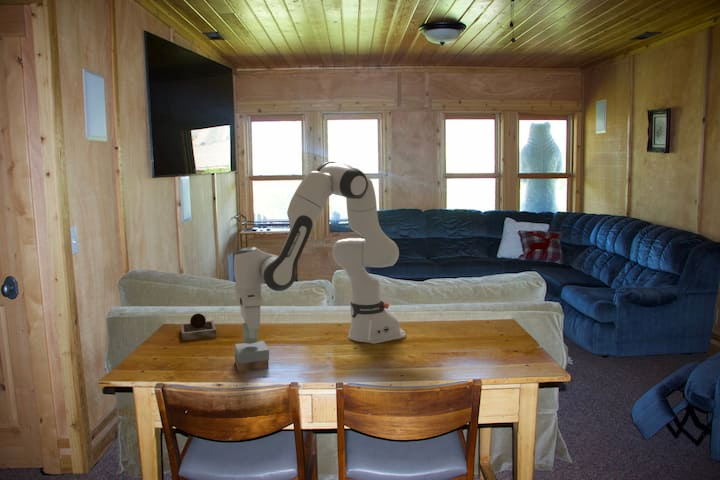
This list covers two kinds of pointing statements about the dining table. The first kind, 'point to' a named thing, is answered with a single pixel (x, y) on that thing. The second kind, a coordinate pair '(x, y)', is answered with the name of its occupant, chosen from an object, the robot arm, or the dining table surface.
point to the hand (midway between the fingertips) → (250, 334)
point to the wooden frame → (198, 334)
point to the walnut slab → (251, 365)
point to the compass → (198, 322)
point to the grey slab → (251, 352)
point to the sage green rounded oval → (246, 335)
